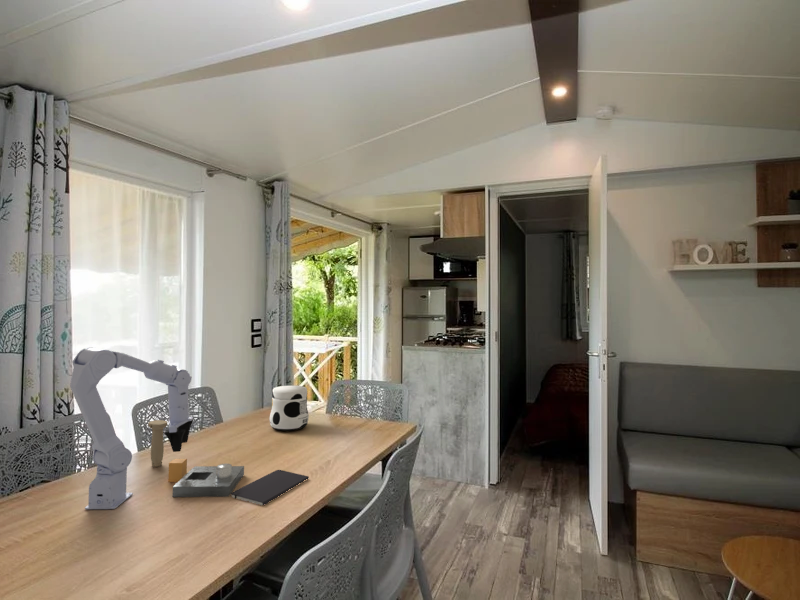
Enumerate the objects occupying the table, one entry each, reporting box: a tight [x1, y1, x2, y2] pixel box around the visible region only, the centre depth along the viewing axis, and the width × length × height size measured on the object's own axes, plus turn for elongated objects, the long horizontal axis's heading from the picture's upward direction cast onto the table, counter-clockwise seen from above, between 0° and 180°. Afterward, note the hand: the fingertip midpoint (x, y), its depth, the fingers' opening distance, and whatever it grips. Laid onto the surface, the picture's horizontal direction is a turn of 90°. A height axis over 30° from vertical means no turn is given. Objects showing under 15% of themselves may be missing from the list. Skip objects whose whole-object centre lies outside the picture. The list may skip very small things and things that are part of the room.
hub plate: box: [171, 463, 245, 498], centre depth 136 cm, size 16×16×6 cm
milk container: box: [269, 385, 310, 432], centre depth 200 cm, size 17×17×18 cm
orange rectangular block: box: [167, 458, 188, 483], centre depth 141 cm, size 4×4×6 cm
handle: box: [147, 419, 168, 468], centre depth 152 cm, size 5×6×15 cm
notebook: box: [230, 469, 309, 506], centre depth 136 cm, size 13×2×21 cm
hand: (180, 446), depth 142 cm, fingers open, 7 cm apart
